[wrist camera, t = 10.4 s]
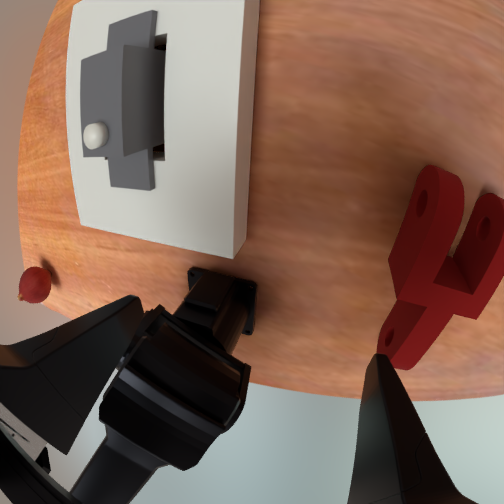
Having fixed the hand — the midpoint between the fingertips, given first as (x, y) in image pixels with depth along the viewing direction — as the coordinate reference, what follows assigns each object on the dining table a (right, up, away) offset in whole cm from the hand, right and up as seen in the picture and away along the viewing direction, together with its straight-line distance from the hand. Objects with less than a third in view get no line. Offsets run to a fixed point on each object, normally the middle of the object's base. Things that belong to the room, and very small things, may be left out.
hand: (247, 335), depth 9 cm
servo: (-7, +15, +8) cm, 19 cm away
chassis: (-7, +15, +8) cm, 19 cm away
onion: (-33, 0, +27) cm, 43 cm away
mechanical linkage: (+14, +2, +9) cm, 17 cm away
